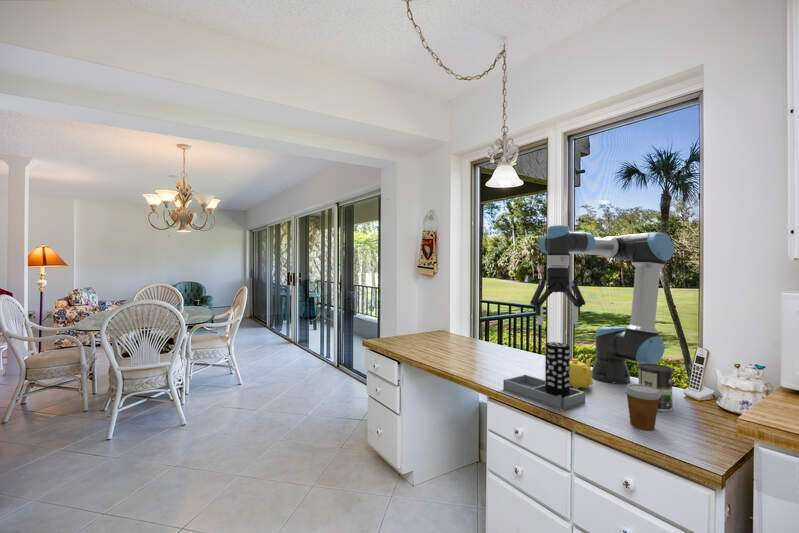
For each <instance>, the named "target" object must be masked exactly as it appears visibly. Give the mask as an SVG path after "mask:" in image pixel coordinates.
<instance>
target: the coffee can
mask: <svg viewBox="0 0 799 533" xmlns="http://www.w3.org/2000/svg"><path fill="white" fill-rule="evenodd" d="M637 366H638V384H641V385H647V386H651V387H654V388H657V389H658V390H659V392H660V394H661V397H660V399H659V403H658V409H657V412H672V411H673V372H674V371H673V370H674V369H673V368H671V367H670V366H667V365H666V366H665V365H661V364H657V363H655V364H644V363H638V365H637Z"/></svg>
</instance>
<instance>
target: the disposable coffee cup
mask: <svg viewBox="0 0 799 533" xmlns="http://www.w3.org/2000/svg"><path fill="white" fill-rule="evenodd" d="M624 391H625V393H626V396H627V397H626V399H627V406H628V414H629V421H630V422H629V423H630V426H632V427H633V428H635V429H638V430H642V431H654V430H655V426H656V421H657V415H658V411H657V409H658V403H659V399H660V397H661V394H660V392H659V390H658V389H657V388H654V387H651V386H647V385H641V384H639V383H629V384H627V385H626V388H624Z"/></svg>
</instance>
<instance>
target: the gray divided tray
mask: <svg viewBox="0 0 799 533" xmlns="http://www.w3.org/2000/svg"><path fill="white" fill-rule="evenodd" d="M503 391H506V392H509V393H511V394H515V395H517V396H519V397H523V398H526V399H527V400H532V401H535V402H537V403H540V404H543V405H546V406H549V407H551V408H554V409H557V408H558V409H557V410H559V409H561V410H560V411H562V410H564V411H567V410H570V409H572V407H573V408H575V407H578V406H581V405H583V404H586V392H585V391H582V390H576V389H573V387H572V388H571V387H570V396H568V397H565V398H560V397H557V396H554V395H551V394H548V393H545V379H541V378H537V377H534V376H532V375H528V374H522V375H518V376H514V377H511V378H510V377H508V378H505V379H503ZM569 408H570V409H569ZM566 409H567V410H566Z"/></svg>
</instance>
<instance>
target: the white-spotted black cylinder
mask: <svg viewBox="0 0 799 533" xmlns="http://www.w3.org/2000/svg"><path fill="white" fill-rule="evenodd" d="M570 354H571V344H567V343H564V342H558V341H557V342H556V341H554V342H553V341H552V342H551V341H550V342H546V343H545V358H544V359H545V360H544V361H545V364H544V366H545V367H544V368H545V370H544V371H545V373H544V374H545V376H544V378H545V379H544V380H545V393H548V394H551V395H554V396H557V397H560V398H565V397H568V396H570V388H571V386H570V361H571V356H570Z"/></svg>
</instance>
